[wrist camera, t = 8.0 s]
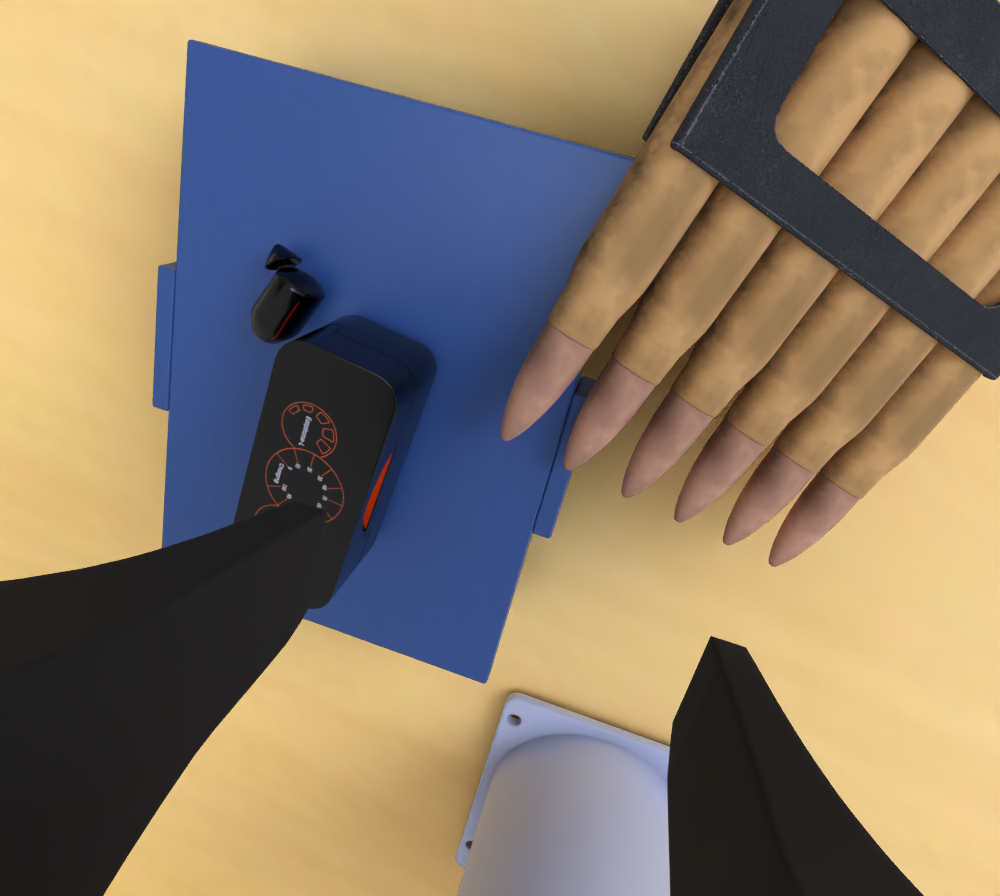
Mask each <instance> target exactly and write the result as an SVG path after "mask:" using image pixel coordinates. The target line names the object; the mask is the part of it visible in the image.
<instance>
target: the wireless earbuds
mask: <svg viewBox="0 0 1000 896" xmlns="http://www.w3.org/2000/svg"><path fill="white" fill-rule="evenodd" d="M301 262H302V259H301V258H300V257H299V256H297V255H296V254H295V253H294V252H292V251H291V250H289V249H288V248H286V247H284V246H283V245H281V244H276V245H274V246H273V248H272V249H271V252H270V254H269V256H268V258H267V260H266V263H265V268H266V269H268V270H276V273H275V274H274V276H273V277H272V279H271V281H270V282H269V284H268V285H267V287H266V288H265V289H264V291H263V292H262V294H261V295H260V297H259V298H258V299H257V301H256V302H255V304H254V305H253V308H252V311H251V326H252V331H253V332H254V334H255V335H256V336H257V337H258V338H259V339H260V340H262V341H263V342H266V343H270V344H278V343H281V342H283V341H286V340H289V339H292V338H293V337H295V336H296V335H298V334H299V333H300V332H301V330H302V329H303V327H304V326H305V325H306V323H307V322H308V320H309V319H310V318H311V316H312V315H313V313H314V312H315V311H316V309H317V308H318V307H319V305H320V304H321V302H322V301H323V300H324V298H325V291H324V289H323V288H322V286H321V285H320V284H319V282H318V281H317V280H316V279H315V278H314V277H313V276H311V275H310V274H308V273H307V272H305V271H303V270H302V269H299V268H296V266H297V265H299V264H300V263H301ZM436 370H437V364H436V359H435V357H434V355H433V353H432V352H431V351H430V349H429V348H428V347H426V346H425V345H423V344H422V343H420V342H418V341H416V340H413V339H411V338H409V337H407V336H405V335H402V334H400V333H398V332H396V331H394V330H391V329H389V328H387V327H385V326H383V325H380V324H378V323H376V322H374V321H372V320H370V319H367V318H365V317H362V316H358V315H347V316H343V317H341V318H339V319H337V320H334V321H332V322H330V323H328V324H326V325H324V326H322V327H320V328H318V329H316V330H313V331H311V332H309V333H307V334H305V335H303V336H301V337H299V338H297V339H294V340H292V341H290V342H288V343H286V344H284V345H283V346H282V347H281V348H280V349H279V350H278V353H277V355H276V357H275V360H274V364H273V368H272V372H271V376H270V380H269V384H268V388H267V392H266V396H265V400H264V404H263V408H262V412H261V415H260V419H259V423H258V427H257V431H256V435H255V439H254V443H253V447H252V451H251V455H250V459H249V463H248V466H247V470H246V474H245V478H244V482H243V486H242V490H241V494H240V498H239V502H238V506H237V510H236V514H235V518H234V521H233V524H234V523H237V522H240V521H242V520H245V519H248V518H250V517H253V516H255V515H258V514H261V513H263V512H266V511H269V510H271V509H274V508H277V507H279V506H282V505H285V504H288V503H291V502H294V501H300V502H303V503H306V504H309V505H312V506H315V507H318V508H321V509H325V510H327V516H326V523H325V530H324V537H323V544H322V551H321V557H320V564H319V571H318V578H317V585H316V592H315V599H314V601H313V602H312V604H311V606H310V607H309V609H318V608H322V607H324V606H325V605H327V604H328V603H329V602H330V600H331V599H332V598H333V597H334V595H335V594H336V593H337V592H338V590H339V589H340V588H341V586H342V585H343V584H344V583H345V581H346V580H347V579H348V578H349V576H350V575H351V574H352V573H353V571H354V570H355V569H356V567H357V566H358V565H359V564H360V562H361V561H362V560H363V559H364V557H365V556H366V555H367V553H368V552H369V551H370V550H371V548H372V546H373V545H374V543H375V540H376V538H377V535H378V532H379V529H380V527H381V524H382V521H383V518H384V516H385V513H386V510H387V507H388V505H389V502H390V499H391V496H392V494H393V491H394V488H395V486H396V483H397V480H398V477H399V475H400V472H401V469H402V466H403V464H404V461H405V458H406V455H407V453H408V450H409V447H410V444H411V442H412V439H413V436H414V433H415V431H416V428H417V425H418V423H419V420H420V417H421V414H422V412H423V409H424V406H425V403H426V401H427V398H428V395H429V392H430V390H431V387H432V384H433V381H434V379H435V376H436Z"/></svg>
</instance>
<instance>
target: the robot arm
mask: <svg viewBox="0 0 1000 896" xmlns="http://www.w3.org/2000/svg"><path fill="white" fill-rule="evenodd" d="M326 516H327V510H325V509H321V508H318V507H315V506H312V505H309V504H306V503H303V502H300V501H294V502H291V503H288V504H285V505H282V506H279V507H277V508H274V509H271V510H269V511H266V512H263V513H261V514H258V515H255V516H253V517H250V518H248V519H245V520H242V521H240V522H237V523H234V524H232V525H229V526H226V527H224V528H221V529H218V530H215V531H213V532H210V533H207V534H205V535H202V536H198V537H195V538H192V539H189V540H186V541H183V542H180V543H177V544H174V545H171V546H167V547H164V548H161V549H158V550H155V551H152V552H148V553H145V554H141V555H138V556H134V557H130V558H126V559H122V560H118V561H114V562H109V563H105V564H101V565H96V566H92V567H87V568H82V569H77V570H71V571H65V572H59V573H53V574H47V575H41V576H35V577H29V578H23V579H15V580H7V581H0V896H103V895H104V893H105V892H106V890H107V888H108V887H109V885H110V884H111V882H112V880H113V879H114V877H115V876H116V874H117V872H118V871H119V869H120V867H121V866H122V864H123V863H124V861H125V859H126V858H127V856H128V855H129V853H130V851H131V850H132V848H133V847H134V845H135V844H136V842H137V841H138V839H139V838H140V836H141V835H142V833H143V831H144V830H145V828H146V827H147V825H148V824H149V822H150V821H151V819H152V818H153V816H154V815H155V813H156V811H157V810H158V808H159V807H160V805H161V804H162V802H163V801H164V799H165V798H166V796H167V795H168V793H169V792H170V791H171V789H172V788H173V786H174V785H175V783H176V782H177V780H178V779H179V777H180V776H181V774H182V773H183V771H184V770H185V768H186V767H187V766H188V764H189V763H190V761H191V760H192V758H193V757H194V755H195V754H196V753H197V751H198V750H199V749H200V747H201V746H202V745H203V744H204V742H205V741H206V740H207V738H208V737H209V736H210V734H211V733H212V732H213V731H214V730H215V728H216V727H217V726H218V725H219V724H220V722H221V721H222V720H223V719H224V718H225V716H226V715H227V714H228V713H229V712H230V711H231V709H232V708H233V707H234V706H235V705H236V703H237V702H238V701H239V700H240V699H241V697H242V696H243V695H244V694H245V693H246V692H247V690H248V689H249V688H250V687H251V686H252V684H253V683H254V682H255V681H256V680H257V679H258V677H259V676H260V675H261V674H262V673H263V671H264V670H265V669H266V668H267V667H268V665H269V664H270V663H271V662H272V660H273V659H274V658H275V657H276V656H277V654H278V653H279V652H280V651H281V650H282V648H283V647H284V646H285V645H286V643H287V642H288V641H289V639H290V637H291V636H292V634H293V633H294V631H295V630H296V628H297V627H298V625H299V624H300V622H301V620H302V619H303V617H304V616H305V614H306V612H307V611H308V609H309V607H310V606H311V604H312V602H313V601H314V599H315V592H316V585H317V578H318V571H319V564H320V557H321V551H322V544H323V537H324V530H325V523H326ZM511 714H513V715H517V716H518V717H519V718H514V717H512V716H511ZM456 861H457V863H458V864H459V865H460V866H461V867H462V868H464V872H463V876H462V879H461V882H460V886H459V889H458V892H457V896H924V895H923V894H922V893H921V892H920V891H919V890H918V889H917V888H916V887H915V886H914V885H913V884H912V883H911V882H910V880H909V879H908V878H907V877H906V876H905V875H904V874H903V873H902V872H901V871H900V870H899V868H898V867H897V866H896V865H895V864H894V863H893V862H892V861H891V859H890V858H889V857H888V856H887V855H886V854H885V853H884V851H883V850H882V849H881V848H880V847H879V845H878V844H877V843H876V842H875V840H874V839H873V838H872V837H871V836H870V834H869V833H868V832H867V831H866V829H865V828H864V827H863V826H862V824H861V823H860V822H859V821H858V820H857V818H856V817H855V816H854V815H853V813H852V812H851V811H850V809H849V808H848V807H847V806H846V804H845V803H844V802H843V800H842V799H841V798H840V796H839V795H838V794H837V792H836V791H835V789H834V788H833V786H832V785H831V784H830V782H829V781H828V779H827V778H826V776H825V775H824V774H823V772H822V771H821V769H820V768H819V767H818V765H817V764H816V762H815V761H814V759H813V758H812V756H811V755H810V753H809V752H808V750H807V749H806V747H805V746H804V744H803V743H802V741H801V739H800V738H799V736H798V735H797V733H796V731H795V730H794V728H793V727H792V725H791V723H790V722H789V720H788V719H787V717H786V715H785V714H784V712H783V710H782V709H781V707H780V705H779V704H778V702H777V700H776V698H775V697H774V695H773V693H772V692H771V690H770V688H769V686H768V685H767V683H766V681H765V679H764V678H763V676H762V674H761V672H760V671H759V669H758V667H757V665H756V664H755V662H754V660H753V659H752V657H751V655H750V654H749V652H748V650H747V649H746V647H743V646H740V645H737V644H734V643H731V642H728V641H724V640H721V639H718V638H715V637H712V636H711V637H710V639H709V641H708V644H707V646H706V648H705V650H704V653H703V655H702V657H701V659H700V662H699V664H698V666H697V669H696V671H695V673H694V675H693V678H692V680H691V682H690V684H689V687H688V689H687V691H686V693H685V696H684V698H683V700H682V703H681V705H680V707H679V709H678V712H677V714H676V716H675V718H674V721H673V725H672V734H671V743H670V747H669V746H667V745H664V744H661V743H658V742H656V741H653V740H650V739H647V738H644V737H642V736H639V735H636V734H633V733H631V732H628V731H625V730H622V729H620V728H617V727H614V726H611V725H608V724H606V723H603V722H600V721H597V720H595V719H592V718H589V717H586V716H583V715H581V714H578V713H575V712H572V711H570V710H567V709H564V708H561V707H558V706H556V705H553V704H550V703H547V702H545V701H542V700H539V699H536V698H533V697H531V696H528V695H525V694H522V693H512V694H510V695H508V697H507V699H506V701H505V704H504V708H503V711H502V714H501V717H500V720H499V723H498V726H497V729H496V732H495V735H494V739H493V742H492V745H491V748H490V751H489V754H488V757H487V760H486V763H485V767H484V770H483V773H482V776H481V779H480V782H479V785H478V788H477V791H476V794H475V798H474V801H473V804H472V807H471V810H470V813H469V816H468V819H467V822H466V825H465V829H464V832H463V835H462V838H461V841H460V844H459V847H458V850H457V853H456Z"/></svg>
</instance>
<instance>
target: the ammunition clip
mask: <svg viewBox="0 0 1000 896" xmlns="http://www.w3.org/2000/svg"><path fill="white" fill-rule="evenodd" d="M643 140H644V141H645V142H646V143H645V145H644V146H643V148H642V150H641V151H640V153H639V155H638V156H637V158H636V159H635V161H634V163H633V164H632V166H631V168H630V169H629V171H628V172H627V174H626V176H625V177H624V179H623V181H622V182H621V184H620V185H619V187H618V189H617V190H616V192H615V194H614V195H613V197H612V198H611V200H610V202H609V203H608V205H607V207H606V208H605V210H604V211H603V213H602V215H601V216H600V218H599V220H598V221H597V223H596V224H595V226H594V228H593V229H592V231H591V233H590V234H589V236H588V237H587V239H586V241H585V242H584V244H583V246H582V248H581V250H580V251H579V253H578V256H577V258H576V260H575V263H574V265H573V268H572V271H571V273H570V276H569V278H568V281H567V283H566V286H565V288H564V290H563V292H562V293H561V295H560V297H559V299H558V300H557V302H556V304H555V306H554V308H553V309H552V311H551V313H550V315H549V316H548V321H547V322H546V324H545V326H544V327H543V329H542V331H541V332H540V334H539V336H538V337H537V339H536V341H535V342H534V344H533V346H532V347H531V349H530V351H529V353H528V355H527V357H526V359H525V361H524V363H523V365H522V367H521V369H520V371H519V373H518V375H517V377H516V380H515V382H514V385H513V387H512V390H511V392H510V395H509V398H508V401H507V404H506V407H505V410H504V414H503V419H502V425H501V439H503V440H504V441H509V440H511V439H513V438H515V437H516V436H518V435H520V434H521V433H522V432H524V431H525V430H526V429H528V428H529V427H530V426H531V425H532V424H533V423H534V422H536V421H537V420H538V419H539V418H540V417H541V416H542V415H543V414H544V413H545V412H546V411H547V410H548V409H549V408H550V407H551V406H552V405H553V404H554V403H555V402H556V400H557V399H558V398H559V397H560V396H561V394H562V393H563V392H564V391H565V390H566V388H567V387H568V386H569V385H570V383H571V382H572V381H573V380H574V378H575V377H576V376H577V374H578V373H579V371H580V370H581V369H582V367H583V366H584V364H585V363H586V361H587V360H588V358H589V357H590V355H591V354H592V352H593V351H594V350H595V349H597V348H598V346H599V345H600V344H601V342H602V341H603V339H604V338H605V337H606V335H607V334H608V333H609V331H610V330H611V328H612V327H613V326H614V324H615V323H616V322H617V320H618V319H619V318H620V317H621V316H622V315H623V314H624V313H625V312H626V311H627V310H628V309H629V308H630V307H631V306H632V305H633V304H634V303H635V302H636V301H637V300H638V299H639V298H640V297H641V295H642V294H643V293H644V294H643V296H642V298H641V300H640V302H639V305H638V307H637V309H636V312H635V314H634V316H633V319H632V321H631V324H630V326H629V327H628V329H627V331H626V332H625V334H624V335H623V337H622V339H621V340H620V342H619V344H618V345H617V347H616V349H615V350H614V352H613V353H612V355H613V356H612V358H611V359H610V361H609V362H608V364H607V365H606V367H605V368H604V370H603V371H602V373H601V374H600V376H599V377H598V379H597V381H596V382H595V384H594V385H593V387H592V389H591V391H590V393H589V395H588V396H587V398H586V400H585V402H584V404H583V406H582V408H581V410H580V412H579V414H578V416H577V419H576V421H575V423H574V426H573V428H572V431H571V434H570V437H569V440H568V442H567V446H566V450H565V455H564V463H563V465H564V468H565V469H566V470H568V471H569V470H573V469H575V468H577V467H579V466H580V465H582V464H584V463H585V462H586V461H588V460H589V459H591V458H592V457H593V456H594V455H595V454H596V453H598V452H599V451H600V450H601V449H602V448H604V447H605V446H606V445H607V444H608V443H609V442H610V441H611V440H612V439H613V438H614V437H615V436H616V435H617V434H618V433H619V432H620V430H621V429H622V428H623V427H624V426H625V425H626V424H627V423H628V421H629V420H630V419H631V418H632V417H633V416H634V414H635V413H636V412H637V411H638V409H639V408H640V407H641V405H642V404H643V403H644V401H645V400H646V399H647V397H648V396H649V394H650V393H651V392H652V390H653V389H654V388H655V386H656V385H658V384H659V383H660V382H661V381H662V379H663V378H664V377H665V375H666V374H667V373H668V372H669V370H670V369H671V368H672V366H673V365H674V364H675V363H676V361H677V360H678V359H679V358H680V357H681V356H682V355H683V354H684V353H685V352H686V351H687V350H688V349H689V348H690V347H691V346H692V345H693V344H694V343H695V342H696V341H697V340H698V339H699V340H698V342H697V344H696V346H695V348H694V350H693V353H692V355H691V357H690V359H689V361H688V362H687V364H686V365H685V367H684V368H683V370H682V371H681V373H680V374H679V376H678V378H677V379H676V381H675V382H674V384H673V385H672V389H671V390H670V392H669V393H668V395H667V396H666V398H665V399H664V400H663V402H662V403H661V405H660V406H659V408H658V409H657V411H656V412H655V414H654V415H653V417H652V418H651V420H650V422H649V424H648V425H647V427H646V429H645V431H644V432H643V434H642V436H641V438H640V440H639V442H638V444H637V446H636V448H635V450H634V452H633V455H632V457H631V459H630V462H629V465H628V467H627V470H626V473H625V476H624V479H623V485H622V491H621V492H622V495H623V496H624V497H626V498H628V497H631V496H634V495H635V494H637V493H639V492H641V491H642V490H644V489H645V488H647V487H648V486H650V485H651V484H652V483H653V482H655V481H656V480H657V479H658V478H660V477H661V476H662V475H663V474H664V473H665V472H667V471H668V470H669V469H670V468H671V467H672V466H673V465H674V464H675V463H676V462H677V461H678V460H679V459H680V458H681V457H682V456H683V455H684V454H685V453H686V452H687V450H688V449H689V448H690V447H691V446H692V445H693V444H694V443H695V441H696V440H697V439H698V438H699V436H700V435H701V434H702V433H703V431H704V430H705V429H706V427H707V426H708V425H709V424H710V422H711V421H712V420H713V418H714V417H717V416H718V414H719V413H720V412H721V411H722V409H723V408H724V407H725V406H726V405H727V403H728V402H729V401H730V400H731V399H732V397H733V396H734V395H735V394H736V393H737V391H739V390H740V389H741V388H742V387H743V386H744V385H745V386H744V388H743V390H742V392H741V393H740V394H739V396H738V397H737V399H736V400H735V402H734V403H733V405H732V406H731V408H730V409H729V410H728V412H727V413H726V415H725V418H724V420H723V421H722V422H721V424H720V425H719V427H718V428H717V429H716V431H715V432H714V433H713V435H712V436H711V437H710V439H709V440H708V442H707V443H706V445H705V446H704V448H703V449H702V451H701V453H700V454H699V456H698V458H697V459H696V461H695V463H694V464H693V466H692V468H691V470H690V472H689V474H688V476H687V478H686V480H685V483H684V485H683V487H682V490H681V492H680V495H679V497H678V501H677V504H676V508H675V513H674V519H675V520H676V521H677V522H683V521H685V520H687V519H689V518H691V517H693V516H695V515H696V514H698V513H700V512H701V511H703V510H704V509H705V508H707V507H708V506H709V505H710V504H712V503H713V502H714V501H716V500H717V499H718V498H719V497H720V496H721V495H723V494H724V493H725V492H726V491H727V490H728V489H729V488H730V487H731V486H732V485H733V484H734V483H735V482H736V481H737V480H738V479H739V478H740V477H741V476H742V475H743V474H744V473H745V472H746V471H747V470H748V468H749V467H750V466H751V465H752V464H753V462H754V461H755V460H756V459H757V457H758V456H759V455H760V454H761V453H762V451H763V450H764V449H765V448H766V446H769V445H770V444H771V443H772V442H773V440H774V439H775V438H776V437H777V436H778V435H779V433H780V432H781V431H782V430H783V429H784V428H785V429H784V430H783V432H782V433H781V434H780V436H779V437H778V438H777V440H776V441H775V443H774V446H773V447H772V449H771V450H770V451H769V452H768V454H767V455H766V456H765V458H764V459H763V460H762V461H761V463H760V464H759V465H758V467H757V468H756V469H755V471H754V473H753V474H752V476H751V477H750V479H749V480H748V482H747V483H746V485H745V487H744V488H743V490H742V492H741V493H740V495H739V497H738V499H737V501H736V503H735V505H734V507H733V509H732V512H731V514H730V516H729V518H728V521H727V524H726V527H725V531H724V536H723V542H724V543H725V544H726V545H732V544H734V543H736V542H738V541H740V540H742V539H744V538H746V537H748V536H749V535H751V534H752V533H753V532H755V531H756V530H758V529H759V528H760V527H762V526H763V525H764V524H766V523H767V522H768V521H769V520H771V519H772V518H773V517H774V516H775V515H776V514H777V513H778V512H780V511H781V510H782V509H783V508H784V507H785V506H786V505H787V504H788V503H789V502H790V501H791V500H792V499H793V498H794V497H795V496H796V495H797V494H798V492H799V491H800V490H801V489H802V488H803V487H804V486H805V484H806V483H807V482H808V481H809V480H810V479H811V477H812V476H813V475H814V474H815V473H817V472H818V471H819V470H820V471H819V472H818V474H817V475H816V476H815V477H814V479H813V480H812V481H811V482H810V484H809V485H808V486H807V487H806V488H805V490H804V491H803V492H802V494H801V495H800V496H799V498H798V499H797V501H796V502H795V504H794V505H793V507H792V508H791V510H790V511H789V513H788V515H787V516H786V518H785V520H784V522H783V524H782V525H781V527H780V529H779V531H778V534H777V536H776V538H775V540H774V542H773V545H772V548H771V552H770V556H769V564H770V565H771V566H773V567H775V566H778V565H781V564H783V563H785V562H787V561H789V560H791V559H793V558H795V557H796V556H798V555H799V554H800V553H802V552H803V551H805V550H806V549H808V548H809V547H810V546H812V545H813V544H814V543H816V542H817V541H818V540H819V539H820V538H822V537H823V536H824V535H825V534H826V533H827V532H828V531H829V530H830V529H831V528H833V527H834V526H835V525H836V524H837V523H838V522H839V521H840V520H841V519H842V518H843V517H844V516H845V515H846V513H847V512H848V511H849V510H850V509H851V508H852V507H853V506H854V505H855V503H856V502H857V501H858V500H859V499H861V498H863V497H864V495H865V494H866V493H867V492H868V491H869V490H870V489H871V488H872V487H873V486H874V485H875V484H876V483H877V482H878V481H879V480H880V479H881V478H882V477H883V476H884V475H885V474H887V473H888V472H889V471H891V470H892V469H893V468H894V467H896V466H897V465H898V464H900V463H901V462H902V461H903V460H905V459H906V458H907V457H908V456H909V455H910V454H911V453H912V452H913V451H914V450H915V449H916V448H917V447H918V445H919V444H920V443H921V442H922V441H923V440H924V439H925V438H926V436H927V435H928V434H929V433H930V432H931V431H932V430H933V429H934V427H935V426H936V425H937V424H938V423H939V422H940V421H941V420H942V418H943V417H944V416H945V415H946V414H947V413H948V412H949V411H950V409H951V408H952V407H953V406H954V405H955V404H956V403H957V402H958V400H959V399H960V398H961V397H962V396H963V395H964V394H965V393H966V391H967V390H968V389H969V388H970V387H971V386H972V385H973V384H974V382H975V381H976V380H977V379H978V378H979V377H980V376H981V375H982V374H983V376H985V377H987V378H989V379H991V380H995V379H997V378H998V377H999V376H1000V3H999V1H998V0H719V1H718V2H717V4H716V6H715V8H714V10H713V11H712V13H711V15H710V17H709V18H708V20H707V22H706V24H705V26H704V27H703V29H702V31H701V33H700V35H699V36H698V38H697V40H696V42H695V43H694V45H693V47H692V49H691V51H690V52H689V54H688V56H687V58H686V60H685V61H684V63H683V65H682V67H681V68H680V70H679V72H678V74H677V76H676V77H675V79H674V81H673V83H672V85H671V86H670V88H669V90H668V92H667V93H666V95H665V97H664V99H663V101H662V102H661V104H660V106H659V108H658V110H657V111H656V113H655V115H654V117H653V118H652V120H651V122H650V124H649V125H648V127H647V129H646V131H645V132H644V134H643ZM787 424H788V425H787ZM786 425H787V426H786Z"/></svg>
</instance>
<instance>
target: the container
mask: <svg viewBox="0 0 1000 896" xmlns="http://www.w3.org/2000/svg"><path fill="white" fill-rule="evenodd" d="M635 159H636V158H632V157H628V156H625V155H621V154H617V153H614V152H610V151H606V150H602V149H599V148H595V147H591V146H587V145H584V144H580V143H576V142H573V141H569V140H565V139H561V138H558V137H554V136H550V135H546V134H543V133H539V132H535V131H532V130H528V129H524V128H520V127H517V126H513V125H509V124H505V123H502V122H498V121H494V120H491V119H487V118H483V117H479V116H476V115H472V114H468V113H464V112H461V111H457V110H453V109H450V108H446V107H442V106H438V105H435V104H431V103H427V102H423V101H420V100H416V99H412V98H409V97H405V96H401V95H397V94H394V93H390V92H386V91H382V90H379V89H375V88H371V87H368V86H364V85H360V84H356V83H353V82H349V81H345V80H341V79H338V78H334V77H330V76H327V75H323V74H319V73H315V72H312V71H308V70H304V69H300V68H297V67H293V66H289V65H286V64H282V63H278V62H274V61H271V60H267V59H263V58H259V57H256V56H252V55H248V54H245V53H241V52H237V51H233V50H230V49H226V48H222V47H218V46H215V45H211V44H207V43H204V42H199V41H195V40H189V41H188V49H187V68H186V88H185V107H184V127H183V146H182V166H181V185H180V205H179V224H178V244H177V262H174V263H169V264H165V265H160V266H159V267H158V286H157V310H156V335H155V359H154V384H153V406H154V407H156V408H159V409H162V410H165V411H169V419H168V439H167V458H166V478H165V497H164V517H163V536H162V548H164V547H167V546H171V545H174V544H177V543H180V542H183V541H186V540H189V539H192V538H195V537H198V536H202V535H205V534H207V533H210V532H213V531H215V530H218V529H221V528H224V527H226V526H229V525H232V524H233V521H234V518H235V514H236V510H237V506H238V502H239V498H240V494H241V490H242V486H243V482H244V478H245V474H246V470H247V466H248V463H249V459H250V455H251V451H252V447H253V443H254V439H255V435H256V431H257V427H258V423H259V419H260V415H261V412H262V408H263V404H264V400H265V396H266V392H267V388H268V384H269V380H270V376H271V372H272V368H273V364H274V360H275V357H276V355H277V353H278V350H279V349H280V348H281V347H282V346H283V345H284V344H286V343H288V342H290V341H292V340H294V339H297V338H299V337H301V336H303V335H305V334H307V333H309V332H311V331H313V330H316V329H318V328H320V327H322V326H324V325H326V324H328V323H330V322H332V321H334V320H337V319H339V318H341V317H343V316H347V315H358V316H362V317H365V318H367V319H370V320H372V321H374V322H376V323H378V324H380V325H383V326H385V327H387V328H389V329H391V330H394V331H396V332H398V333H400V334H402V335H405V336H407V337H409V338H411V339H413V340H416V341H418V342H420V343H422V344H423V345H425V346H426V347H428V348H429V349H430V351H431V352H432V353H433V355H434V357H435V359H436V364H437V370H436V376H435V379H434V381H433V384H432V387H431V390H430V392H429V395H428V398H427V401H426V403H425V406H424V409H423V412H422V414H421V417H420V420H419V423H418V425H417V428H416V431H415V433H414V436H413V439H412V442H411V444H410V447H409V450H408V453H407V455H406V458H405V461H404V464H403V466H402V469H401V472H400V475H399V477H398V480H397V483H396V486H395V488H394V491H393V494H392V496H391V499H390V502H389V505H388V507H387V510H386V513H385V516H384V518H383V521H382V524H381V527H380V529H379V532H378V535H377V538H376V540H375V543H374V545H373V546H372V548H371V550H370V551H369V552H368V553H367V555H366V556H365V557H364V559H363V560H362V561H361V562H360V564H359V565H358V566H357V567H356V569H355V570H354V571H353V573H352V574H351V575H350V576H349V578H348V579H347V580H346V581H345V583H344V584H343V585H342V586H341V588H340V589H339V590H338V592H337V593H336V594H335V595H334V597H333V598H332V599H331V600H330V602H329V603H328V604H327V605H325V606H324V607H322V608H318V609H308V611H307V612H306V614H305V616H304V617H303V618H304V619H306V620H309V621H312V622H315V623H317V624H320V625H323V626H326V627H329V628H331V629H334V630H337V631H340V632H342V633H345V634H348V635H351V636H354V637H356V638H359V639H362V640H365V641H367V642H370V643H373V644H376V645H378V646H381V647H384V648H387V649H390V650H392V651H395V652H398V653H401V654H403V655H406V656H409V657H412V658H414V659H417V660H420V661H423V662H426V663H428V664H431V665H434V666H437V667H439V668H442V669H445V670H448V671H450V672H453V673H456V674H459V675H462V676H464V677H467V678H470V679H473V680H475V681H478V682H481V683H486V682H487V680H488V677H489V674H490V671H491V668H492V665H493V662H494V658H495V655H496V652H497V648H498V645H499V642H500V639H501V635H502V632H503V629H504V625H505V622H506V619H507V615H508V612H509V609H510V606H511V602H512V599H513V596H514V592H515V589H516V586H517V583H518V579H519V576H520V573H521V569H522V566H523V563H524V560H525V556H526V553H527V550H528V546H529V543H530V540H531V537H532V533H534V534H537V535H540V536H543V537H546V538H550V537H551V535H552V532H553V529H554V526H555V523H556V520H557V517H558V514H559V511H560V508H561V505H562V502H563V499H564V495H565V492H566V489H567V486H568V483H569V480H570V476H571V473H572V470H569V471H568V470H566V469H565V468H564V465H563V463H564V455H565V450H566V446H567V442H568V440H569V437H570V434H571V431H572V428H573V426H574V423H575V421H576V419H577V416H578V414H579V412H580V410H581V408H582V406H583V404H584V402H585V400H586V398H587V396H588V395H589V393H590V391H591V389H592V387H593V385H594V384H595V382H596V380H593V379H590V378H587V377H582V378H581V380H580V382H579V379H580V375H581V372H582V369H583V367H582V369H581V370H580V371H579V373H578V374H577V376H576V377H575V378H574V380H573V381H572V382H571V383H570V385H569V386H568V387H567V388H566V390H565V391H564V392H563V393H562V394H561V396H560V397H559V398H558V399H557V400H556V402H555V403H554V404H553V405H552V406H551V407H550V408H549V409H548V410H547V411H546V412H545V413H544V414H543V415H542V416H541V417H540V418H539V419H538V420H537V421H536V422H534V423H533V424H532V425H531V426H530V427H529V428H528V429H526V430H525V431H524V432H522V433H521V434H520V435H518V436H516V437H515V438H513V439H511V440H509V441H504V440H503V439H501V425H502V419H503V414H504V410H505V407H506V404H507V401H508V398H509V395H510V392H511V390H512V387H513V385H514V382H515V380H516V377H517V375H518V373H519V371H520V369H521V367H522V365H523V363H524V361H525V359H526V357H527V355H528V353H529V351H530V349H531V347H532V346H533V344H534V342H535V341H536V339H537V337H538V336H539V334H540V332H541V331H542V329H543V327H544V326H545V324H546V322H547V321H548V316H549V315H550V313H551V311H552V309H553V308H554V306H555V304H556V302H557V300H558V299H559V297H560V295H561V293H562V292H563V290H564V288H565V286H566V283H567V281H568V278H569V276H570V273H571V271H572V268H573V265H574V263H575V260H576V258H577V256H578V253H579V251H580V250H581V248H582V246H583V244H584V242H585V241H586V239H587V237H588V236H589V234H590V233H591V231H592V229H593V228H594V226H595V224H596V223H597V221H598V220H599V218H600V216H601V215H602V213H603V211H604V210H605V208H606V207H607V205H608V203H609V202H610V200H611V198H612V197H613V195H614V194H615V192H616V190H617V189H618V187H619V185H620V184H621V182H622V181H623V179H624V177H625V176H626V174H627V172H628V171H629V169H630V168H631V166H632V164H633V163H634V161H635ZM276 244H281V245H283V246H284V247H286V248H288V249H289V250H291V251H292V252H294V253H295V254H296V255H297V256H299V257H300V258H301V259H302V262H301V263H300V264H299V265H297V266H296V268H299V269H302V270H303V271H305V272H307V273H308V274H310V275H311V276H313V277H314V278H315V279H316V280H317V281H318V282H319V284H320V285H321V286H322V288H323V289H324V291H325V298H324V300H323V301H322V302H321V304H320V305H319V307H318V308H317V309H316V311H315V312H314V313H313V315H312V316H311V318H310V319H309V320H308V322H307V323H306V325H305V326H304V327H303V329H302V330H301V332H300V333H299V334H298V335H296V336H295V337H293V338H292V339H289V340H286V341H283V342H281V343H278V344H270V343H266V342H263V341H262V340H260V339H259V338H258V337H257V336H256V335H255V334H254V332H253V331H252V326H251V311H252V308H253V305H254V304H255V302H256V301H257V299H258V298H259V297H260V295H261V294H262V292H263V291H264V289H265V288H266V287H267V285H268V284H269V282H270V281H271V279H272V277H273V276H274V274H275V273H276V270H268V269H266V268H265V263H266V260H267V258H268V256H269V254H270V252H271V249H272V248H273V246H274V245H276ZM578 382H579V384H578ZM577 385H578V387H577ZM576 388H577V389H576Z"/></svg>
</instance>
